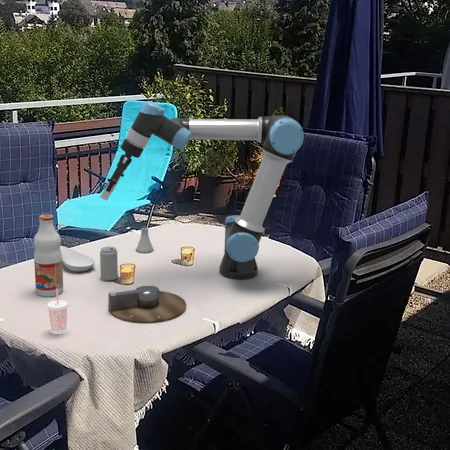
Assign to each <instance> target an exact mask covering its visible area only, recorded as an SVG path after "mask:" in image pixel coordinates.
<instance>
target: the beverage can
mask: <svg viewBox="0 0 450 450" xmlns="http://www.w3.org/2000/svg"><path fill="white" fill-rule="evenodd" d="M99 265H100V266H99V267H100V269H99V270H100V273H99V274H100V279H101V280H102V281H105V282H111V281H115V280H117V278H118V275H119V274H118V270H119V269H118V268H119V267H118V250H117V247H116V246H104V247H101V248H100V251H99Z"/></svg>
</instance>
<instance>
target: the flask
mask: <svg viewBox="0 0 450 450" xmlns="http://www.w3.org/2000/svg"><path fill="white" fill-rule="evenodd" d="M149 229H150V228H148V227H141V228H140V231H141V234H140V237H139V241H138V244H137V246H136V249H135V251H136V252H138V253H141V254H149V253H152V252H153V251H154V247H153V244H152V243H151V240H150V237H149Z"/></svg>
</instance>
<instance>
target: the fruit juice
mask: <svg viewBox="0 0 450 450" xmlns="http://www.w3.org/2000/svg"><path fill="white" fill-rule="evenodd" d="M54 221H55V220H54V215H53V214H50V213H47V214H46V213H45V214H40V215H38V222H39V227H38V230H37V232H36V234H35V235H34V237H33V244H34V248H35V250H34V253H33V260H34V261H33V262H34V279H35V280H34V281H35V282H34V283H35V292H36V294H37V295H38V296H40V297H57V296H56V288H58V296H59V295H61V294H62V293H63V292H64V275H63V274H64V273H63V260H62V253H61V250H60V246H61V243H62V240H61V239H62V238H61V236H60V234H59V233H58V231H56V228H55V225H54Z"/></svg>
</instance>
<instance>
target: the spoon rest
mask: <svg viewBox="0 0 450 450" xmlns="http://www.w3.org/2000/svg"><path fill="white" fill-rule="evenodd" d="M60 250H61V253H62V263H64V265H65V267H66V268H67V269H68V270H69V271H72V272H76V273H82V272H86V271H88V270H90V269H92V268H93V266H94V265H95V264H96V260H95V259H94V258H93V257H91V256H89V255H87V254H84V253H81V252H79V251H76V250H74V249H72V248H69V247H67V246H65V245H64V246H63V245H60Z"/></svg>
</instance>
